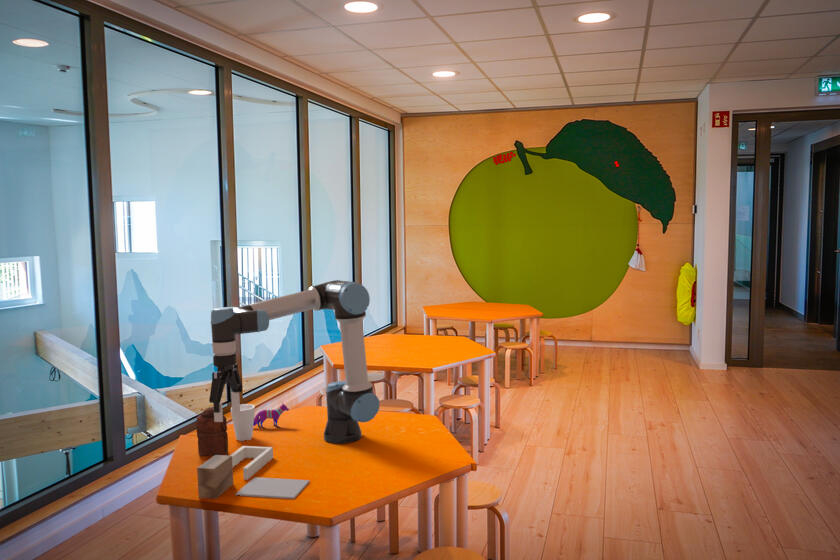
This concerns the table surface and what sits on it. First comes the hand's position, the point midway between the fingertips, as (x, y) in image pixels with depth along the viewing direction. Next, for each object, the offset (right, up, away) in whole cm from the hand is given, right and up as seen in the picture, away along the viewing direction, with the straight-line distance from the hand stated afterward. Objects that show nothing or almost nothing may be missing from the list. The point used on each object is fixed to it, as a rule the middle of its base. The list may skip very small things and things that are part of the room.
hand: (227, 416), depth 232 cm
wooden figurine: (-13, -20, +29) cm, 38 cm away
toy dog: (+1, -17, +60) cm, 62 cm away
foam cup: (-6, -19, +46) cm, 50 cm away
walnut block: (-2, -23, -8) cm, 24 cm away
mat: (+17, -23, -7) cm, 29 cm away
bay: (+3, -21, +12) cm, 25 cm away
